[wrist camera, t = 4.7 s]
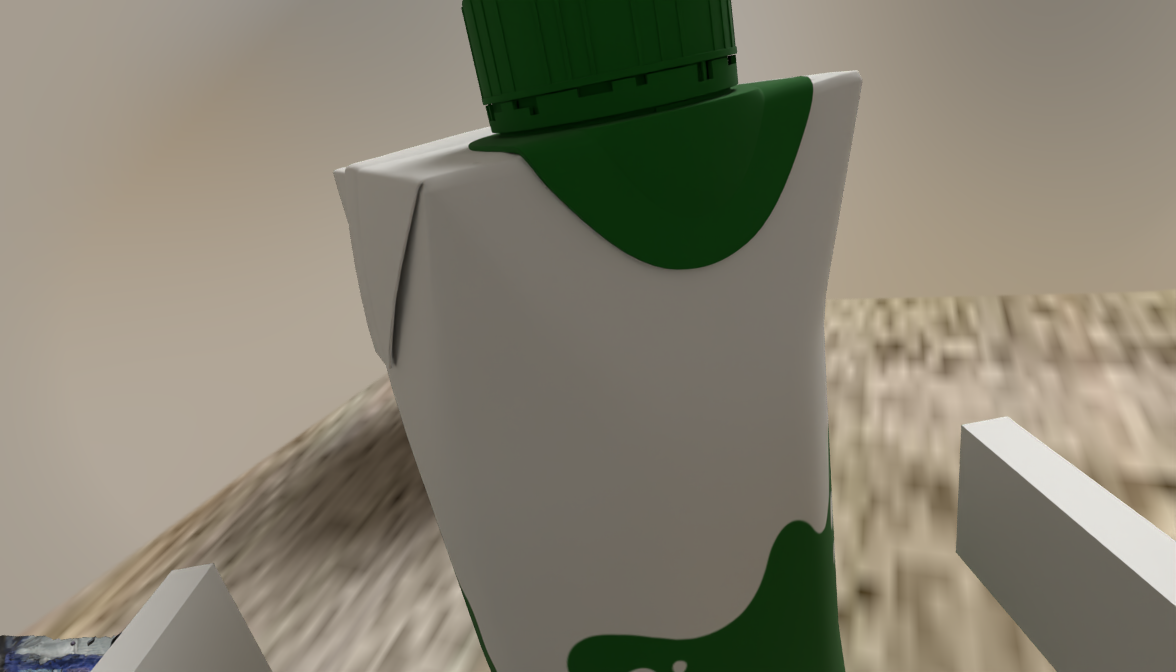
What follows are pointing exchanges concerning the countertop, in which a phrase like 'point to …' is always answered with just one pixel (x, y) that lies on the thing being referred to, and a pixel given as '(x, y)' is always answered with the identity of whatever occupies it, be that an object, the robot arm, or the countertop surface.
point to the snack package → (51, 653)
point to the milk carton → (620, 339)
